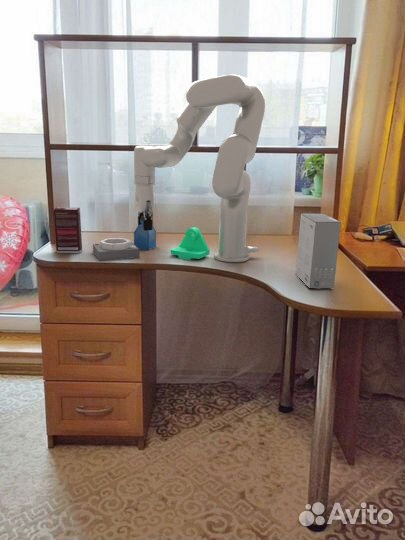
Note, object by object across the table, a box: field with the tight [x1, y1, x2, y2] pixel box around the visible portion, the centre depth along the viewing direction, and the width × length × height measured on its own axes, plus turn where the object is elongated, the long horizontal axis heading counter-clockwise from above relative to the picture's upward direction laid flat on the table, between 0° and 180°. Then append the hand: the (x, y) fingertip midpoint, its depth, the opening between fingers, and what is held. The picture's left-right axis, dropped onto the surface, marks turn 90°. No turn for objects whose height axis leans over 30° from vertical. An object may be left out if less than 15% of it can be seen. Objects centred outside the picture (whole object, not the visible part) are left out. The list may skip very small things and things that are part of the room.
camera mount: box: [170, 226, 210, 261], centre depth 170 cm, size 12×8×10 cm, turn 62°
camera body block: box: [92, 237, 140, 261], centre depth 171 cm, size 14×12×5 cm
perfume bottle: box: [133, 216, 157, 251], centre depth 182 cm, size 6×6×12 cm
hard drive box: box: [295, 213, 342, 289], centre depth 143 cm, size 16×8×20 cm, turn 4°
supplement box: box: [52, 206, 83, 254], centre depth 172 cm, size 9×5×16 cm, turn 94°
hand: (145, 227), depth 181 cm, fingers open, 7 cm apart
